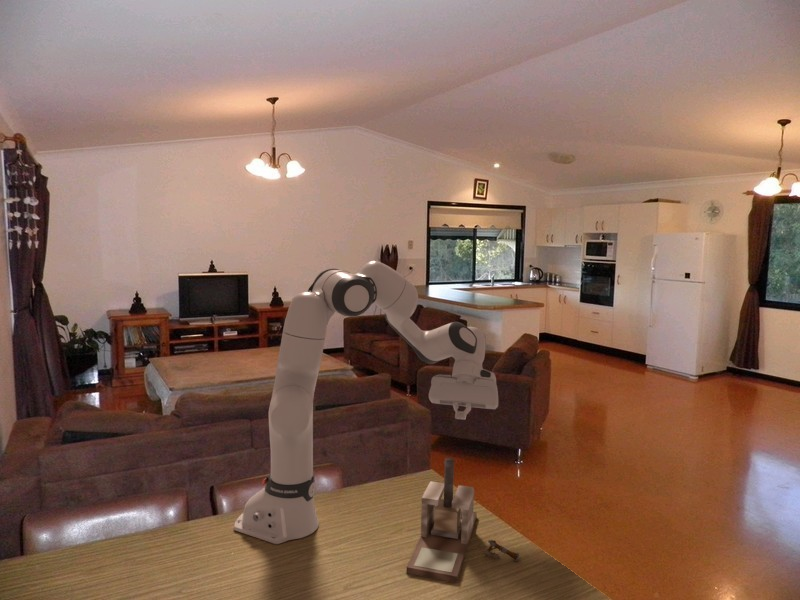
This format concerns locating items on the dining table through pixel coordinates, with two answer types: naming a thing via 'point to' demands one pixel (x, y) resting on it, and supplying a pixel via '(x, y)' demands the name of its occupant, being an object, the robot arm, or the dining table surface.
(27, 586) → the dining table surface
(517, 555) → the toy flintlock pistol
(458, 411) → the robot arm
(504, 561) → the dining table surface
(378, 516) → the dining table surface
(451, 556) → the tunnel track
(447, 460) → the rod on wooden block
